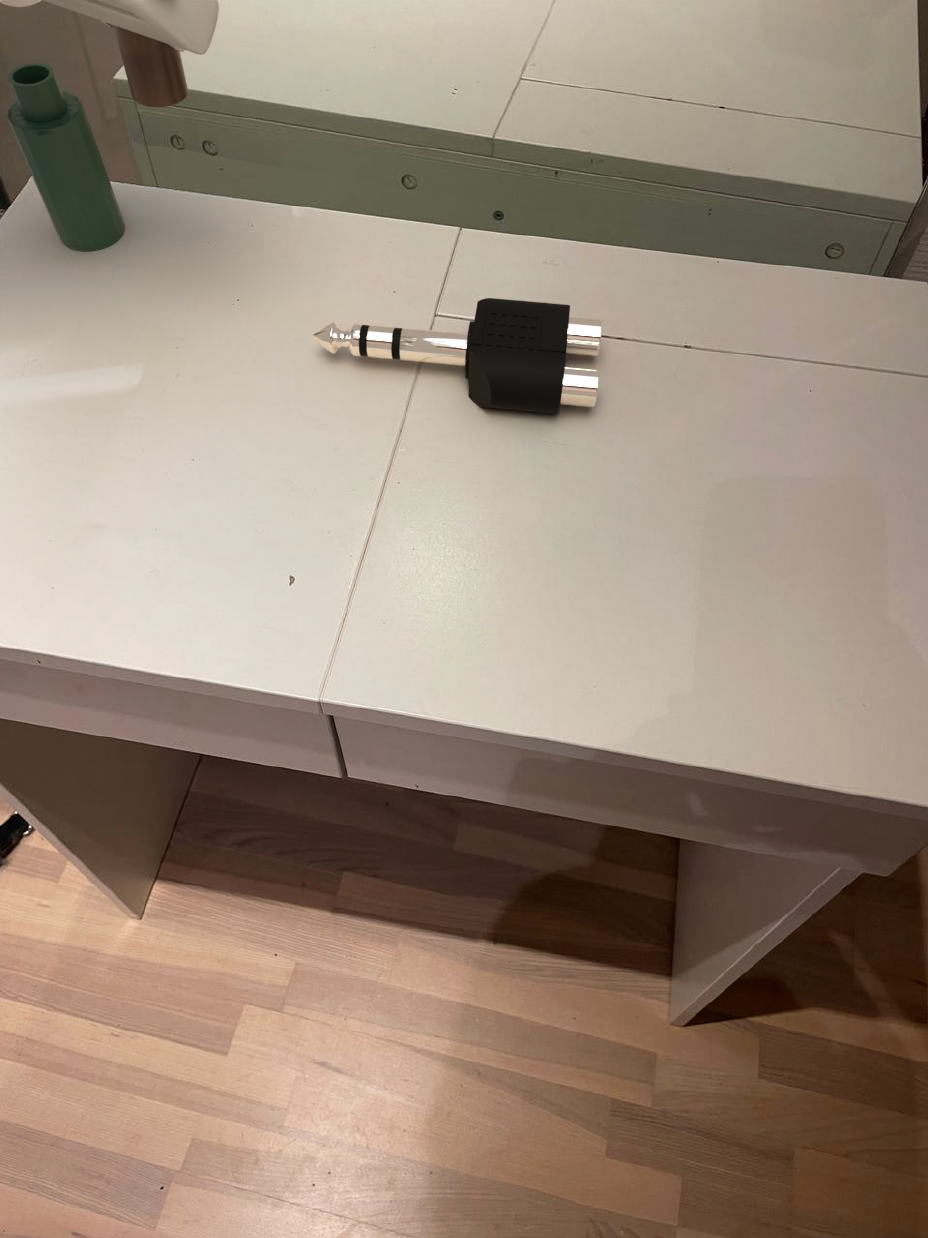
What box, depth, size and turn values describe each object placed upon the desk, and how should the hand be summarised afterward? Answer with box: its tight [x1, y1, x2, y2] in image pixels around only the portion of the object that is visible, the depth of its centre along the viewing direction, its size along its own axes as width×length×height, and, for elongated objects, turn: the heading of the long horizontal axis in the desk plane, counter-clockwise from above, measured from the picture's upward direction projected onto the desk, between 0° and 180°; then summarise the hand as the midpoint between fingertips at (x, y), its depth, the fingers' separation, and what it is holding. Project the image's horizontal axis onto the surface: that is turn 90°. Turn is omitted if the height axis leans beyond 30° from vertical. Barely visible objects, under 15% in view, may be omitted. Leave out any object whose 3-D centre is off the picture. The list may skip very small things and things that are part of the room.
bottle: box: [6, 62, 126, 252], centre depth 81 cm, size 6×6×15 cm
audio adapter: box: [312, 297, 603, 415], centre depth 76 cm, size 11×5×25 cm
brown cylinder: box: [113, 25, 189, 108], centre depth 67 cm, size 4×4×8 cm
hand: (150, 28), depth 67 cm, fingers closed on brown cylinder, 4 cm apart
